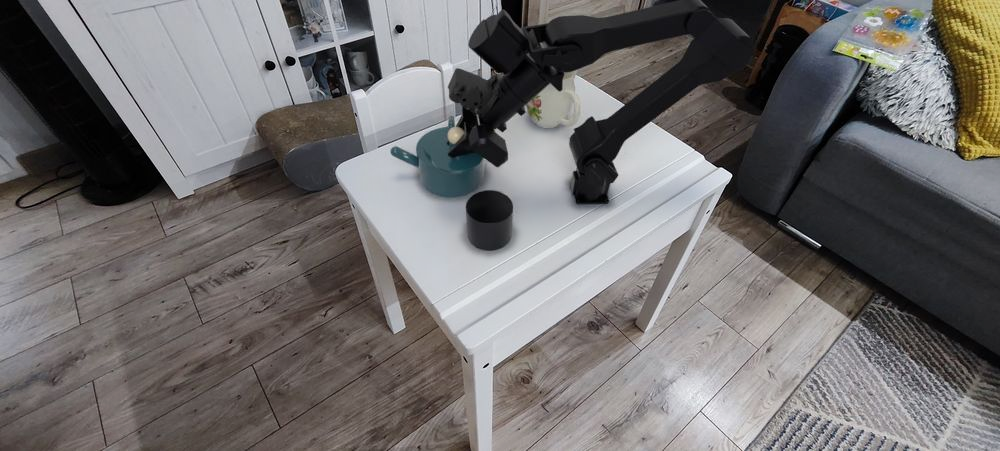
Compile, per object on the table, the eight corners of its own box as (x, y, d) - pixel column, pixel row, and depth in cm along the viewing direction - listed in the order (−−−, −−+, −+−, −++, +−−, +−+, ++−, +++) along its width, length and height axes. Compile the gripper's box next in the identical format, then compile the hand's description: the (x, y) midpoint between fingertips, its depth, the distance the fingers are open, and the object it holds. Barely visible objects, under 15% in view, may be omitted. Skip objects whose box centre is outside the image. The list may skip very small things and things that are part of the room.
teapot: (483, 143, 99) (483, 112, 94) (485, 196, 88) (485, 165, 82) (400, 145, 99) (394, 113, 93) (391, 198, 88) (384, 166, 82)
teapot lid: (491, 146, 81) (492, 118, 76) (472, 179, 75) (471, 151, 71) (444, 135, 83) (441, 107, 78) (421, 166, 77) (417, 138, 72)
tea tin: (510, 217, 85) (511, 189, 80) (513, 250, 80) (514, 223, 74) (467, 218, 85) (465, 190, 79) (467, 251, 79) (465, 224, 74)
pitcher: (553, 150, 98) (561, 94, 88) (508, 109, 109) (510, 54, 98) (592, 134, 103) (604, 79, 92) (545, 96, 113) (551, 42, 102)
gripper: (472, 26, 72) (410, 92, 79) (486, 90, 60) (411, 162, 67) (519, 70, 79) (458, 127, 86) (540, 135, 66) (467, 196, 73)
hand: (449, 150), depth 78 cm, fingers closed on teapot lid, 3 cm apart
